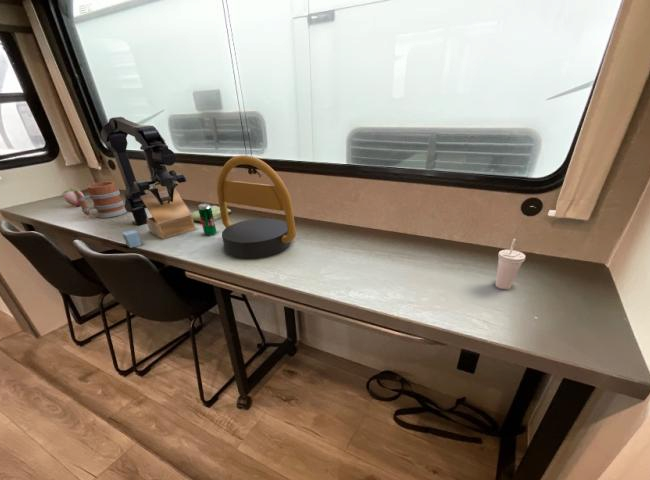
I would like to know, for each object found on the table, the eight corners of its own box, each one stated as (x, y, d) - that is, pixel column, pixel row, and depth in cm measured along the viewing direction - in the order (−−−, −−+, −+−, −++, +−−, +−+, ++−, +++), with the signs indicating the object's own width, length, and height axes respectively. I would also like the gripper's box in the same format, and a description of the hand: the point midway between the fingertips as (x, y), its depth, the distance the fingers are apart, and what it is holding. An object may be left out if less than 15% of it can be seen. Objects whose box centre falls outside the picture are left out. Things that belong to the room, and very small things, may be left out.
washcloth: (233, 212, 161) (231, 206, 159) (205, 224, 149) (203, 217, 147) (214, 209, 167) (212, 203, 165) (186, 220, 155) (184, 213, 153)
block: (126, 245, 132) (122, 232, 129) (138, 241, 134) (133, 229, 132) (130, 248, 129) (125, 235, 126) (142, 244, 132) (137, 232, 129)
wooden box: (150, 231, 144) (145, 218, 141) (182, 222, 152) (178, 210, 149) (162, 239, 136) (158, 225, 132) (195, 229, 144) (192, 216, 141)
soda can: (213, 236, 136) (206, 207, 129) (202, 235, 137) (194, 206, 130) (218, 231, 140) (212, 203, 134) (208, 231, 141) (201, 203, 135)
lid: (140, 197, 134) (140, 190, 131) (175, 189, 142) (175, 182, 139) (158, 225, 133) (158, 218, 129) (192, 215, 141) (193, 209, 137)
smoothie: (486, 281, 95) (497, 235, 87) (507, 279, 95) (521, 233, 88) (498, 292, 90) (511, 244, 82) (520, 290, 90) (536, 242, 82)
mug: (132, 212, 170) (121, 182, 162) (91, 223, 158) (77, 191, 150) (121, 208, 178) (110, 179, 170) (81, 218, 166) (68, 187, 158)
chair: (246, 227, 142) (232, 148, 125) (314, 241, 126) (309, 151, 109) (201, 248, 125) (178, 159, 108) (274, 267, 109) (260, 166, 92)
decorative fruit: (85, 202, 191) (78, 185, 185) (89, 205, 185) (81, 187, 180) (67, 206, 186) (58, 188, 180) (69, 209, 180) (61, 190, 175)
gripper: (137, 170, 117) (151, 213, 126) (187, 161, 127) (196, 201, 136) (127, 166, 124) (140, 207, 132) (175, 158, 134) (184, 196, 143)
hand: (166, 203), depth 136 cm, fingers closed on lid, 4 cm apart
